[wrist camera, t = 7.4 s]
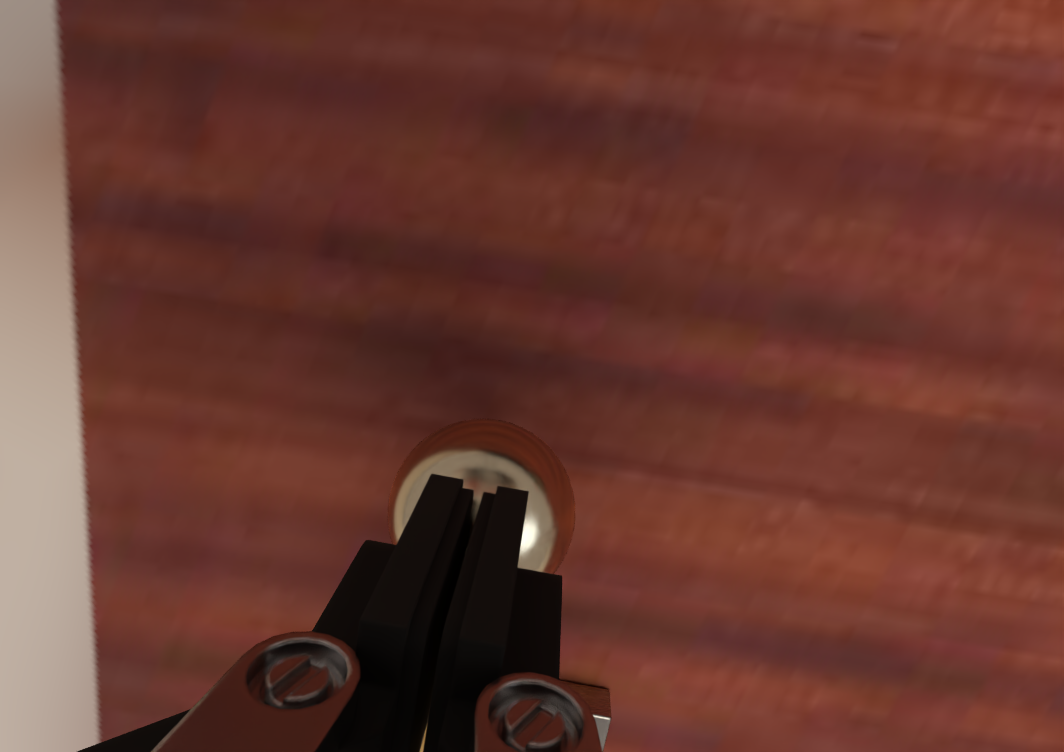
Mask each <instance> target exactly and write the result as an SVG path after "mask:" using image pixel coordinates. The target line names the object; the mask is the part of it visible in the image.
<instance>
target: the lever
mask: <svg viewBox="0 0 1064 752" xmlns="http://www.w3.org/2000/svg"><path fill="white" fill-rule="evenodd" d="M431 474H437V475H442V476H448V477H453V478H459V479H463V488H466V489H472V490H474V496H473V503H472V509H471V515H470V521H469V528H468V534H467V540H466V546H465V553H466V550H467V546H468V543H469V540H470V536H471V533H472V529H473V526H474V523H475V519H476V516H477V512H478V509H479V506H480V502H481V499H482V495H483V492H488V493H493V494H496V490H497V486H502V487H508V488H513V489H519V490H524V491H529V494H528V501H527V507H526V514H525V521H524V527H523V534H522V541H521V548H520V554H519V561H518V568H523V569H529V570H534V571H539V572H545V573H550V574H554V573H555V572H556V570H557V569H558V567H559V566H560V565H561V563H562V561H563V559H564V557H565V555H566V554H567V551H568V548H569V546H570V543H571V540H572V536H573V531H574V524H575V501H574V494H573V490H572V486H571V483H570V479H569V477H568V475H567V472H566V470H565V468H564V466H563V465H562V463H561V461H560V460H559V458H558V457H557V456H556V454H555V453H554V452H553V451H552V449H551V448H550V447H549V446H548V445H547V444H546V443H545V442H544V441H543V440H541V439H540V438H539V437H537V436H536V435H535V434H533V433H532V432H530V431H528V430H526V429H525V428H523V427H520V426H518V425H515V424H513V423H510V422H506V421H502V420H496V419H471V420H464V421H460V422H456V423H453V424H450V425H448V426H445V427H443V428H441V429H439V430H437V431H436V432H434V433H432V434H430V435H429V436H428V437H426V438H425V439H424V440H423V441H421V442H420V443H419V444H418V445H417V446H416V447H415V448H414V449H413V450H412V451H411V452H410V454H409V455H408V456H407V458H406V459H405V460H404V462H403V464H402V465H401V467H400V469H399V471H398V472H397V475H396V477H395V480H394V482H393V485H392V489H391V492H390V497H389V504H388V527H389V534H390V538H391V542H392V544H393V545H396V544H397V542H398V540H399V538H400V536H401V534H402V532H403V530H404V528H405V526H406V524H407V522H408V520H409V518H410V516H411V514H412V512H413V510H414V508H415V506H416V504H417V502H418V500H419V498H420V496H421V493H422V491H423V489H424V487H425V485H426V483H427V481H428V479H429V477H430V475H431ZM465 553H464V557H465ZM463 560H464V559H463ZM426 730H427V727H426ZM426 730H425V734H424V738H423V741H422V745H421V749H420V752H423V749H424V743H425V736H426Z"/></svg>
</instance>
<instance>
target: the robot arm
mask: <svg viewBox="0 0 1064 752" xmlns="http://www.w3.org/2000/svg"><path fill="white" fill-rule="evenodd" d="M528 494H529V491H524V490H519V489H513V488H508V487H502V486H497V490H496V494H493V493H488V492H483V495H482V499H481V502H480V506H479V509H478V512H477V516H476V519H475V523H474V526H473V529H472V533H471V536H470V540H469V543H468V546H467V550H466V553H465V546H466V540H467V534H468V528H469V521H470V515H471V509H472V503H473V496H474V490H472V489H466V488H463V479H459V478H453V477H448V476H442V475H437V474H431V475H430V477H429V479H428V481H427V483H426V485H425V487H424V489H423V491H422V493H421V496H420V498H419V500H418V502H417V504H416V506H415V508H414V510H413V512H412V514H411V516H410V518H409V520H408V522H407V524H406V526H405V528H404V530H403V532H402V534H401V536H400V538H399V540H398V542H397V544H396V545H393V544H388V543H382V542H377V541H371V540H366V541H365V542H364V543H363V545H362V546H361V548H360V550H359V551H358V553H357V555H356V557H355V558H354V560H353V562H352V563H351V565H350V567H349V569H348V570H347V572H346V574H345V575H344V577H343V579H342V581H341V582H340V584H339V586H338V587H337V589H336V591H335V593H334V594H333V596H332V598H331V599H330V601H329V603H328V605H327V606H326V608H325V610H324V611H323V613H322V615H321V617H320V618H319V620H318V622H317V623H316V625H315V627H314V629H313V630H312V632H311V631H309V632H290V633H286V634H281V635H277V636H273V637H271V638H269V639H267V640H265V641H262V642H260V643H258V644H256V645H255V646H254V647H252V648H251V649H250V650H249V651H247V652H246V653H245V654H244V655H243V656H242V657H241V658H240V659H239V660H238V661H237V662H236V663H235V664H234V665H233V666H232V667H231V668H230V669H229V670H228V671H227V672H226V673H225V674H224V675H223V676H222V678H221V679H220V680H219V681H218V682H217V683H216V684H215V685H214V686H213V687H212V688H211V689H210V690H209V691H208V692H207V693H206V694H205V695H204V696H203V697H202V698H201V700H200V701H199V702H198V703H197V704H196V705H195V706H194V707H193V708H192V709H190V710H187V711H185V712H182V713H179V714H177V715H174V716H171V717H169V718H166V719H163V720H161V721H158V722H155V723H152V724H150V725H147V726H144V727H142V728H139V729H136V730H134V731H131V732H128V733H126V734H123V735H120V736H118V737H115V738H112V739H110V740H107V741H104V742H102V743H99V744H96V745H93V746H91V747H88V748H85V749H83V750H80V751H78V752H420V749H421V745H422V741H423V738H424V734H425V730H426V727H427V730H426V736H425V743H424V749H423V752H602V747H601V743H600V738H599V734H598V729H597V725H596V721H595V718H594V716H593V713H592V711H591V708H590V706H589V705H588V704H587V702H586V701H585V700H584V699H583V698H582V696H581V695H580V694H579V693H578V692H577V691H575V690H574V689H573V688H571V687H570V686H568V685H567V684H566V683H564V682H562V681H559V664H560V634H561V605H562V576H561V575H556V574H550V573H545V572H539V571H534V570H529V569H523V568H518V561H519V554H520V548H521V541H522V534H523V527H524V521H525V514H526V507H527V501H528ZM464 553H465V557H464ZM463 559H464V560H463Z"/></svg>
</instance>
